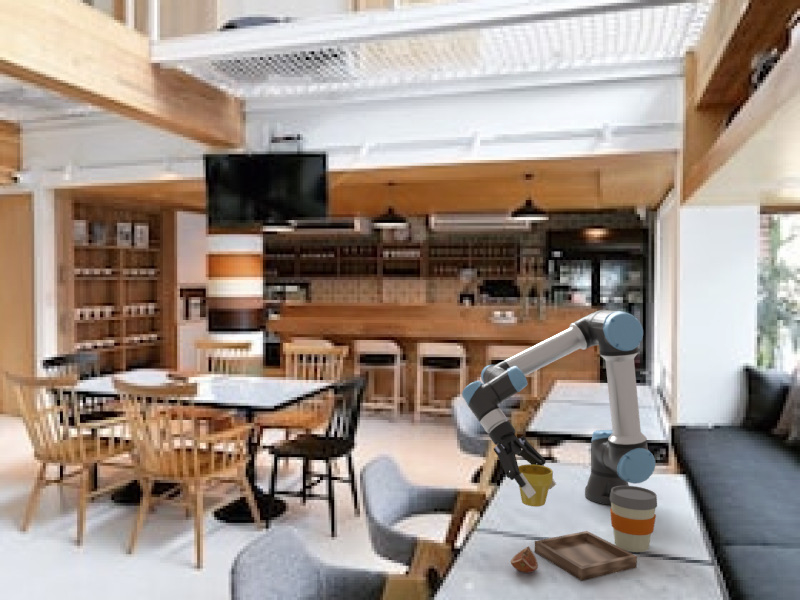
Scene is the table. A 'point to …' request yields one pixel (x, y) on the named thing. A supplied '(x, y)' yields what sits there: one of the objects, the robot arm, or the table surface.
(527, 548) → the fruit slice
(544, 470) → the plant pot
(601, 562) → the walnut tray
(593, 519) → the table surface
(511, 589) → the table surface
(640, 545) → the reusable coffee cup
